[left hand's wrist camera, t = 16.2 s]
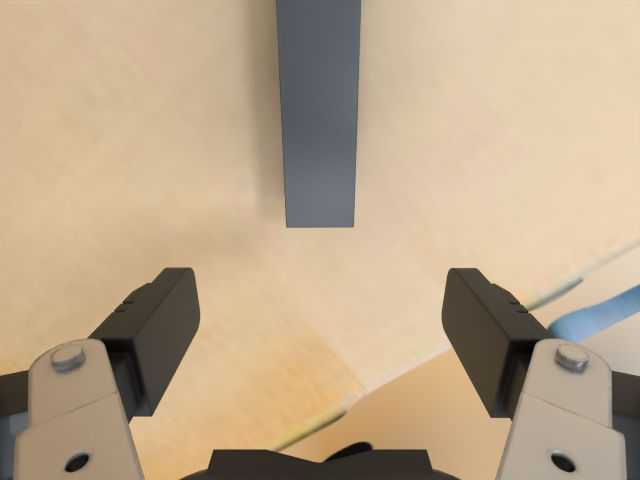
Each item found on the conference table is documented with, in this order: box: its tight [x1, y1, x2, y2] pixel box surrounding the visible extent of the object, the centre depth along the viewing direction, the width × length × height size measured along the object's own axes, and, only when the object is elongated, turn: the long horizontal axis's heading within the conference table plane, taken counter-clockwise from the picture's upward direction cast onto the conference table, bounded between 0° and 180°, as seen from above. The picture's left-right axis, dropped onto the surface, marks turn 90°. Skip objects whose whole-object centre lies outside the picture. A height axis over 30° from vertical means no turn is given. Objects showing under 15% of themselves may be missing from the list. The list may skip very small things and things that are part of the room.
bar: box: [276, 0, 361, 228], centre depth 27 cm, size 25×5×8 cm, turn 0°
